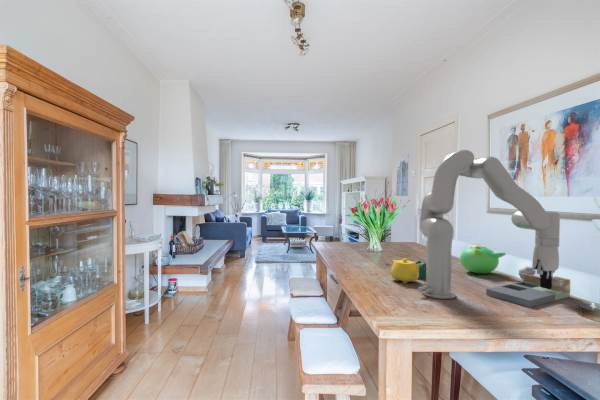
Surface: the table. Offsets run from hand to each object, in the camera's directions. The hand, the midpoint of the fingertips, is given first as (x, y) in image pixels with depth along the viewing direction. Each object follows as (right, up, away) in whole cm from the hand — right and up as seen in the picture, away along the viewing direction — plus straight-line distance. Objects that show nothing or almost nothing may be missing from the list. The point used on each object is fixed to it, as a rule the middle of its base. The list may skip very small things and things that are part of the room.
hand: (545, 287), depth 123 cm
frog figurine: (+10, -4, +24) cm, 26 cm away
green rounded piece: (-3, -4, +39) cm, 40 cm away
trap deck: (-6, -4, +1) cm, 7 cm away
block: (+5, -1, 0) cm, 5 cm away
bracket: (-32, -4, +34) cm, 47 cm away
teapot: (-48, -4, +23) cm, 53 cm away
